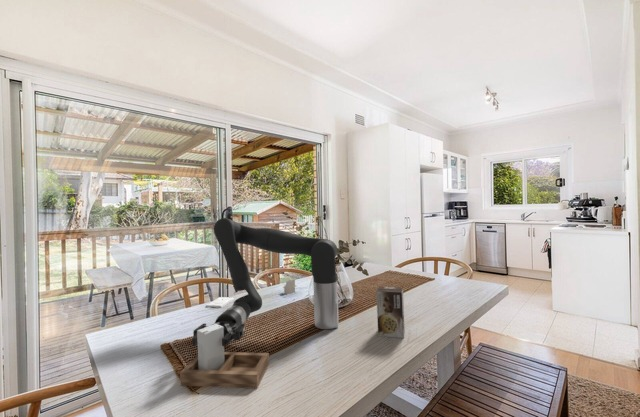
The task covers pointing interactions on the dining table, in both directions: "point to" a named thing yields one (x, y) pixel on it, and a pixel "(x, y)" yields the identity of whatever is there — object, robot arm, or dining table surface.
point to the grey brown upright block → (390, 312)
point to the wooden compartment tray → (228, 371)
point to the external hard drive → (220, 302)
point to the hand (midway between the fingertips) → (208, 342)
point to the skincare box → (210, 347)
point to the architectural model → (289, 287)
